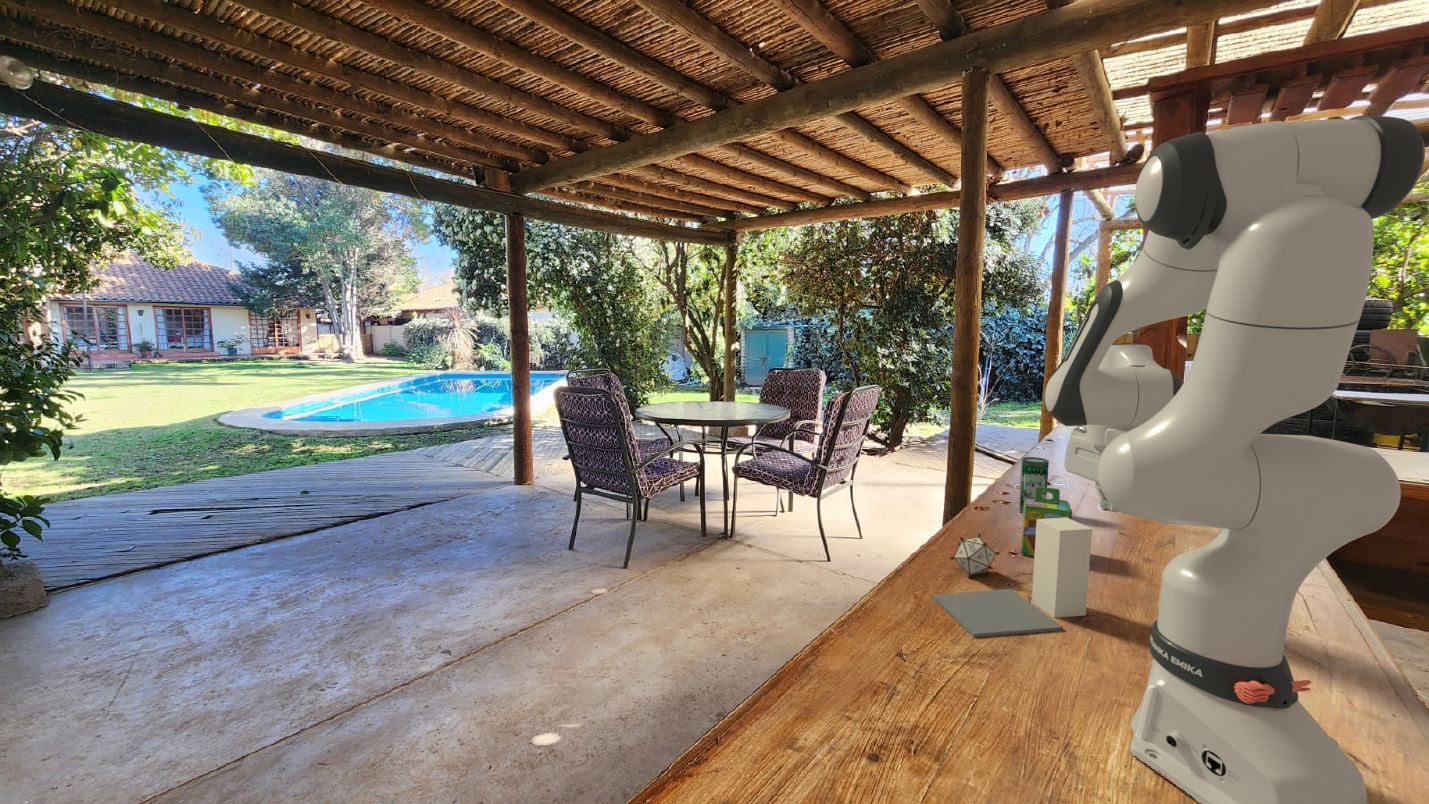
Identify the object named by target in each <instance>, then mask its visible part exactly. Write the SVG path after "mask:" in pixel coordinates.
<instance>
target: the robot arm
mask: <svg viewBox="0 0 1429 804" xmlns="http://www.w3.org/2000/svg"><path fill="white" fill-rule="evenodd" d="M1422 137H1423V136H1422V135H1421V133H1420V131H1419V129H1418V128H1417V126H1416V125H1415V124H1414V123H1413V122H1411V121H1410V120H1407V119H1405V118H1401V117H1396V116H1395V117H1394V116H1385V115H1364V114H1363V115H1356V116H1353V117H1351V118H1348V119H1347V118H1346V119H1343V118H1342V119H1341V118H1335V119H1333V118H1332V119H1329V118H1327V119H1310V120H1307V119H1306V120H1294V121H1283V120H1275V121H1268V122H1267V121H1266V122H1260V123H1253V124H1248V125H1241V126H1235V127H1230V128H1225V129H1220V130H1216V131H1211V132H1207V133H1205V132H1202V131H1196V132H1194V133H1190V134H1186V135H1182V136H1179V137H1175V138H1172V139H1170V140H1167V141H1165V142H1162V143H1160V144H1159V145H1158V146H1157V147H1155V149H1154V150H1153V151H1152V153H1150V155H1149V156H1148V157H1147V158H1146V160H1145V161H1144V163H1143V166H1142V167H1141V171H1140V173H1139V175H1138V176H1139V177H1138V178H1137V182H1136V186H1135V190H1134V191H1135V194H1134V201H1135V208H1136V209H1135V210H1136V216H1137V218H1138V219H1137V220H1138V221H1139V222H1140V223H1141V224H1142V225H1143V226H1144V227H1145V228H1147V229H1148V232H1147V235H1146V238H1145V240H1144V243H1143V247H1142V248H1141V252H1140V253H1139V254H1138V256H1137V258H1136V259H1135V261H1134V262H1133V264H1132V265H1131V266H1130V267H1129V268H1128V269H1127V270H1126V271H1124V273H1123V274H1121V275H1120V276H1119V277H1118V278H1116V279H1115V280H1112V281H1111V282H1109V283H1107V284H1105V285H1103V287H1101V289H1100V290H1099V292H1098V293H1097V295H1096V296H1095V298H1094V300H1093V301H1092V302H1091V304H1090V306H1089V308H1088V310H1087V312H1086V314H1085V316H1084V317H1083V319H1082V321H1081V323H1080V325H1079V326H1078V329H1077V331H1076V333H1075V335H1074V337H1073V338H1072V340H1071V342H1070V345H1069V347H1068V349H1067V351H1066V352H1065V355H1064V356H1063V358H1062V360H1061V361H1060V363H1059V365H1058V366H1057V367H1056V368H1055V370H1054V371H1053V372H1052V374H1051V375H1050V377H1049V379H1048V382H1047V383H1046V388H1045V391H1044V403H1045V410H1046V412H1047V413H1048V414H1049V415H1050V416H1051V417H1052V418H1054V419H1055V420H1056V421H1057V422H1059V423H1060V424H1062V425H1063V426H1065V427H1074V428H1073V429H1072V430H1071V431H1070V432H1071V433H1070V437H1069V440H1068V442H1067V445H1066V450H1065V454H1064V462H1063V465H1064V468H1065V470H1066V472H1068V473H1070V474H1073V475H1076V476H1079V477H1080V478H1081V477H1082V478H1084V479H1087V480H1089V481H1092V482H1095V486H1094V487H1095V490H1096V492H1097V495H1098V497H1099V507H1100V508H1102V509H1105V510H1107V511H1109V512H1112V513H1121V514H1126V515H1129V516H1133V517H1137V518H1140V519H1144V520H1148V521H1153V522H1157V523H1161V524H1165V525H1178V526H1187V527H1202V528H1212V529H1221V532H1220V533H1219V534H1218V536H1216V537H1215V538H1214V539H1213V540H1211V541H1210V542H1208V543H1207V544H1205V545H1203V546H1201V547H1198V548H1196V549H1191V550H1188V551H1185V552H1182V553H1180V554H1178V555H1176V556H1175V557H1173V558H1172V559H1171V560H1170V561H1169V562H1168V563H1167V564H1166V566H1165V567H1164V569H1163V570H1162V572H1161V578H1160V579H1161V580H1160V591H1159V602H1158V613H1157V619H1156V620H1155V621H1154V622H1153V624H1152V629H1151V634H1150V637H1149V638H1150V639H1149V641H1150V643H1149V645H1150V646H1149V652H1150V654H1151V657H1152V662H1151V666H1150V671H1149V675H1148V677H1147V682H1146V685H1145V686H1146V687H1145V690H1144V693H1143V697H1142V699H1141V702H1140V704H1139V706H1138V708H1137V710H1136V711H1135V714H1134V715H1133V717H1132V718H1131V730H1132V733H1133V738H1132V739H1131V741H1130V742H1131V743H1130V746H1129V752H1130V751H1131V752H1132V753H1133V754H1134V755H1136V756H1137V757H1138V758H1139V759H1141V760H1142V761H1144V762H1145V763H1147V764H1148V765H1150V766H1151V767H1153V769H1156V770H1158V771H1160V772H1162V774H1164V775H1166V776H1167V777H1168V778H1170V779H1171V780H1173V781H1174V782H1175V783H1177V784H1178V786H1180V787H1181V788H1183V789H1184V790H1185V792H1187V794H1189V795H1191V796H1192V797H1193V798H1195V801H1196V802H1197V803H1199V804H1200V803H1203V804H1369V801H1368V794H1367V793H1368V792H1367V787H1366V783H1365V779H1364V777H1363V775H1362V773H1361V771H1360V770H1359V768H1358V767H1357V766H1356V765H1355V764H1354V763H1353V761H1352V760H1351V759H1350V758H1349V757H1348V756H1347V755H1346V753H1344V752H1343V750H1342V749H1341V748H1340V746H1339V745H1338V743H1337V742H1336V741H1335V739H1334V738H1333V737H1331V736H1330V735H1329V734H1328V733H1327V732H1326V730H1325V729H1324V728H1322V726H1321V725H1320V723H1318V722H1317V720H1316V719H1315V718H1314V716H1312V715H1311V713H1310V712H1309V711H1308V710H1307V709H1306V707H1305V706H1304V705H1303V704H1302V703H1301V702H1300V700H1299V693H1301V692H1308V691H1311V688H1309V687H1308V686H1309V685H1310V684H1312V681H1311V680H1309V679H1305V680H1304V679H1303V680H1294V677H1293V673H1292V669H1291V668H1290V664H1289V662H1288V659H1287V657H1286V655H1285V654H1284V652H1285V651H1284V650H1285V644H1286V638H1287V633H1288V632H1287V631H1288V626H1289V622H1290V617H1291V613H1292V610H1293V609H1292V608H1293V604H1294V601H1295V599H1296V596H1297V594H1298V591H1299V590H1300V588H1301V586H1302V584H1303V583H1304V581H1305V580H1306V579H1307V577H1308V576H1309V575H1310V574H1311V573H1312V572H1313V571H1314V569H1315V568H1316V567H1317V566H1318V565H1319V564H1320V563H1321V562H1323V561H1324V560H1325V559H1326V558H1327V557H1328V556H1330V555H1331V554H1332V553H1334V552H1335V551H1337V550H1338V549H1341V547H1343V546H1345V545H1347V544H1349V543H1350V542H1353V541H1355V540H1357V539H1360V538H1361V537H1364V536H1366V535H1369V534H1372V533H1375V532H1377V531H1379V530H1380V529H1382V528H1383V527H1384V526H1386V525H1387V524H1388V523H1389V522H1390V521H1391V519H1392V518H1393V517H1394V516H1395V514H1396V512H1397V510H1398V508H1399V507H1400V502H1401V496H1402V494H1401V493H1402V492H1401V491H1402V488H1401V484H1400V480H1399V477H1398V476H1397V473H1396V472H1395V470H1394V468H1393V467H1392V466H1391V464H1390V463H1389V462H1388V460H1386V459H1385V457H1383V456H1382V455H1381V454H1380V453H1379V452H1378V451H1376V450H1375V449H1373V448H1371V447H1368V446H1365V445H1362V444H1361V445H1359V444H1355V443H1351V442H1348V441H1347V442H1346V441H1341V440H1335V439H1331V438H1324V437H1319V436H1314V435H1305V434H1304V435H1302V434H1301V435H1300V434H1298V435H1295V434H1276V433H1275V434H1270V433H1263V432H1264V431H1266V430H1267V429H1268V428H1270V427H1272V426H1273V425H1275V424H1276V423H1279V422H1281V421H1284V420H1286V419H1289V418H1292V417H1294V416H1296V415H1300V414H1303V413H1306V412H1308V411H1310V410H1312V409H1315V408H1318V407H1319V406H1320V405H1322V404H1323V403H1324V402H1327V400H1328V399H1329V398H1330V397H1331V396H1333V394H1334V393H1335V391H1336V390H1337V388H1338V387H1339V385H1340V382H1341V378H1342V375H1343V372H1344V370H1345V365H1346V363H1347V360H1348V356H1349V354H1350V350H1351V347H1352V344H1353V341H1354V338H1355V335H1356V332H1357V328H1358V325H1359V323H1360V319H1361V317H1362V313H1363V311H1364V310H1363V309H1364V306H1365V302H1366V298H1367V294H1368V289H1369V285H1370V281H1371V279H1370V278H1371V274H1372V267H1373V256H1374V255H1373V254H1374V244H1375V243H1374V238H1375V237H1374V235H1375V233H1374V231H1375V227H1374V222H1373V220H1374V219H1378V218H1380V217H1382V216H1384V215H1386V214H1388V213H1389V212H1391V211H1392V210H1393V209H1395V208H1396V207H1397V206H1398V205H1399V204H1400V203H1401V202H1402V201H1403V200H1404V199H1406V197H1407V196H1408V195H1409V193H1410V192H1411V191H1413V189H1414V187H1415V186H1416V184H1417V182H1418V180H1419V178H1420V176H1421V173H1422V171H1423V168H1424V166H1425V165H1424V164H1425V158H1426V146H1425V143H1424V140H1423V138H1422ZM1205 310H1206V311H1205ZM1202 311H1205V315H1204V320H1203V324H1202V328H1201V333H1200V335H1199V336H1200V337H1199V340H1198V344H1197V347H1196V349H1195V350H1196V351H1195V354H1194V357H1193V360H1192V363H1191V365H1190V369H1189V372H1188V374H1187V377H1186V379H1185V380H1183V379H1182V378H1180V377H1179V375H1178V374H1176V372H1174V371H1173V370H1171V369H1169V368H1164V367H1162V366H1161V365H1160V364H1158V363H1157V362H1156V361H1155V359H1154V354H1153V349H1152V347H1151V346H1149V345H1147V344H1144V343H1139V342H1120V343H1114V342H1115V341H1116V340H1118V339H1119V338H1120V337H1122V336H1124V335H1126V334H1127V333H1130V332H1132V331H1135V330H1137V329H1141V328H1144V327H1147V326H1150V325H1154V324H1157V323H1161V322H1165V321H1170V320H1175V319H1178V318H1184V317H1187V316H1191V315H1192V316H1193V315H1194V314H1197V313H1201V312H1202ZM1085 426H1086V427H1085ZM1131 752H1130V753H1131ZM1152 757H1153V758H1152ZM1185 792H1184V793H1185ZM1189 795H1188V796H1189ZM1192 797H1191V798H1192ZM1193 798H1192V799H1193Z"/></svg>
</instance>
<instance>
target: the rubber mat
mask: <svg viewBox="0 0 1429 804" xmlns="http://www.w3.org/2000/svg"><path fill="white" fill-rule="evenodd" d="M931 598H932V599H933V600H934V601H935V603H938V604H939V606H940V607H942V609H943V610H945V612H947V613H948V614H949V615H950V616H951V617H952V618H953V619H954V620H955V621H956V622H957V623H958V624H959V625H960V626H961V627H962V628H964V630H965V631H966V632H968V634H969V635H971V636H972V638H979V637H980V638H982V637H983V638H984V637H994V636H995V637H996V636H1007V635H1020V634H1021V635H1022V634H1032V633H1033V634H1034V633H1043V632H1044V633H1045V632H1057V631H1064V626H1062V625H1061V624H1060V623H1058V621H1056V620H1055V619H1053V618H1052V617H1051V616H1049V615H1047V614H1046V613H1045V612H1043V611H1042V609H1041V610H1040V609H1039V608H1038V607H1037V606H1036V605H1034V604H1032V603H1031V602H1029V601H1028V600H1027V599H1025V598H1024V597H1023V596H1021V595H1020V594H1019V593H1017V591H1014V590H1013V589H1011V588H1008V589H1007V588H1005V589H993V590H977V591H965V592H964V591H963V592H952V593H951V592H950V593H948V592H947V593H936V594H932V596H931Z"/></svg>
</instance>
